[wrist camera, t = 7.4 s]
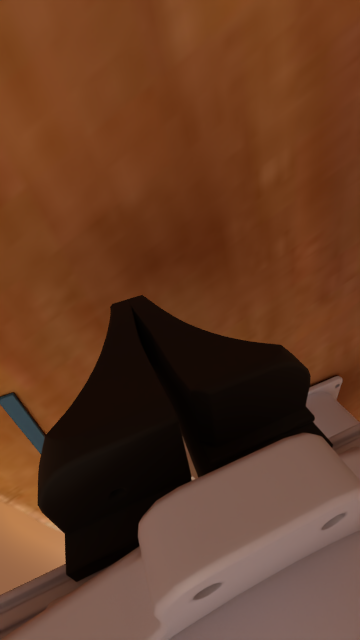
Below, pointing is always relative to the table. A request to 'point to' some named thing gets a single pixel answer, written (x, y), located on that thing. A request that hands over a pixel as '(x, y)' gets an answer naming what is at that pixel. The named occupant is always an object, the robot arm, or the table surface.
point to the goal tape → (23, 420)
